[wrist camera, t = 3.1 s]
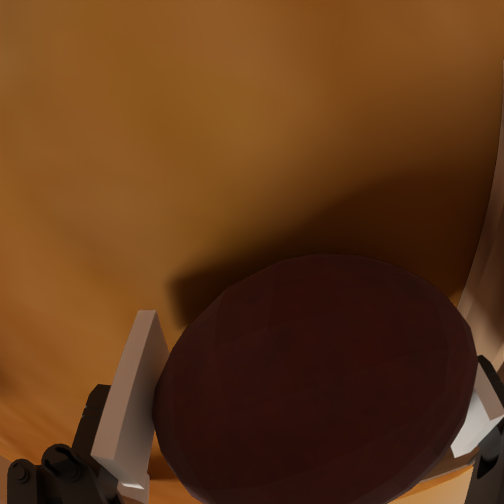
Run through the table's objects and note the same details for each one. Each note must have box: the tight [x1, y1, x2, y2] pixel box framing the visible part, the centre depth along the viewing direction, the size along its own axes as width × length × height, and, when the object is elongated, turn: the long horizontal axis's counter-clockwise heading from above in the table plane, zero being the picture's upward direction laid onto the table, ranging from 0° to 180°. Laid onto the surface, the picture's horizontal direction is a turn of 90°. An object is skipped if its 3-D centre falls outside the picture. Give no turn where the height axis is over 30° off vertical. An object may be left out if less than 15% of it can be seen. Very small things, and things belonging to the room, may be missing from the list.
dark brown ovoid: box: [152, 253, 478, 504], centre depth 10 cm, size 9×12×9 cm
